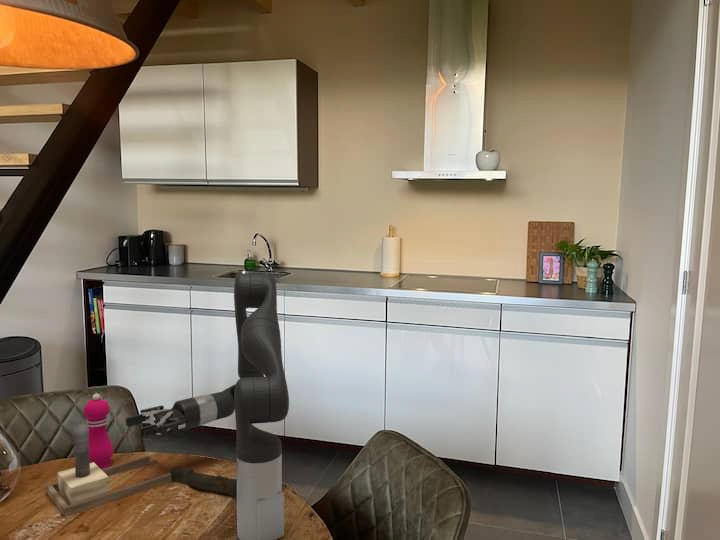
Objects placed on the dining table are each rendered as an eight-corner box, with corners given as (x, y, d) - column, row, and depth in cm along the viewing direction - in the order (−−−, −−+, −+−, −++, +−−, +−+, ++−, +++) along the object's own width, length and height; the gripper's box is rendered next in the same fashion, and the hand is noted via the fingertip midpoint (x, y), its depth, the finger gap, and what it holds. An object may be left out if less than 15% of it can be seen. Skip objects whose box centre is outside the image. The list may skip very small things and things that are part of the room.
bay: (171, 486, 139) (171, 474, 139) (65, 522, 123) (64, 509, 123) (148, 466, 149) (148, 455, 149) (46, 497, 133) (46, 485, 133)
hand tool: (243, 492, 137) (243, 473, 137) (234, 500, 133) (234, 481, 133) (176, 479, 143) (176, 461, 143) (166, 486, 140) (166, 468, 139)
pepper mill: (119, 463, 151) (117, 389, 149) (104, 476, 144) (101, 399, 141) (93, 462, 152) (90, 388, 149) (77, 474, 144) (74, 397, 142)
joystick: (110, 497, 131) (108, 425, 129) (71, 510, 126) (68, 435, 124) (95, 481, 138) (92, 413, 137) (58, 492, 133) (54, 422, 131)
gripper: (182, 390, 154) (121, 404, 143) (208, 405, 144) (144, 421, 133) (183, 417, 155) (122, 433, 144) (208, 433, 145) (145, 452, 134)
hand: (133, 427), depth 139 cm, fingers open, 8 cm apart
